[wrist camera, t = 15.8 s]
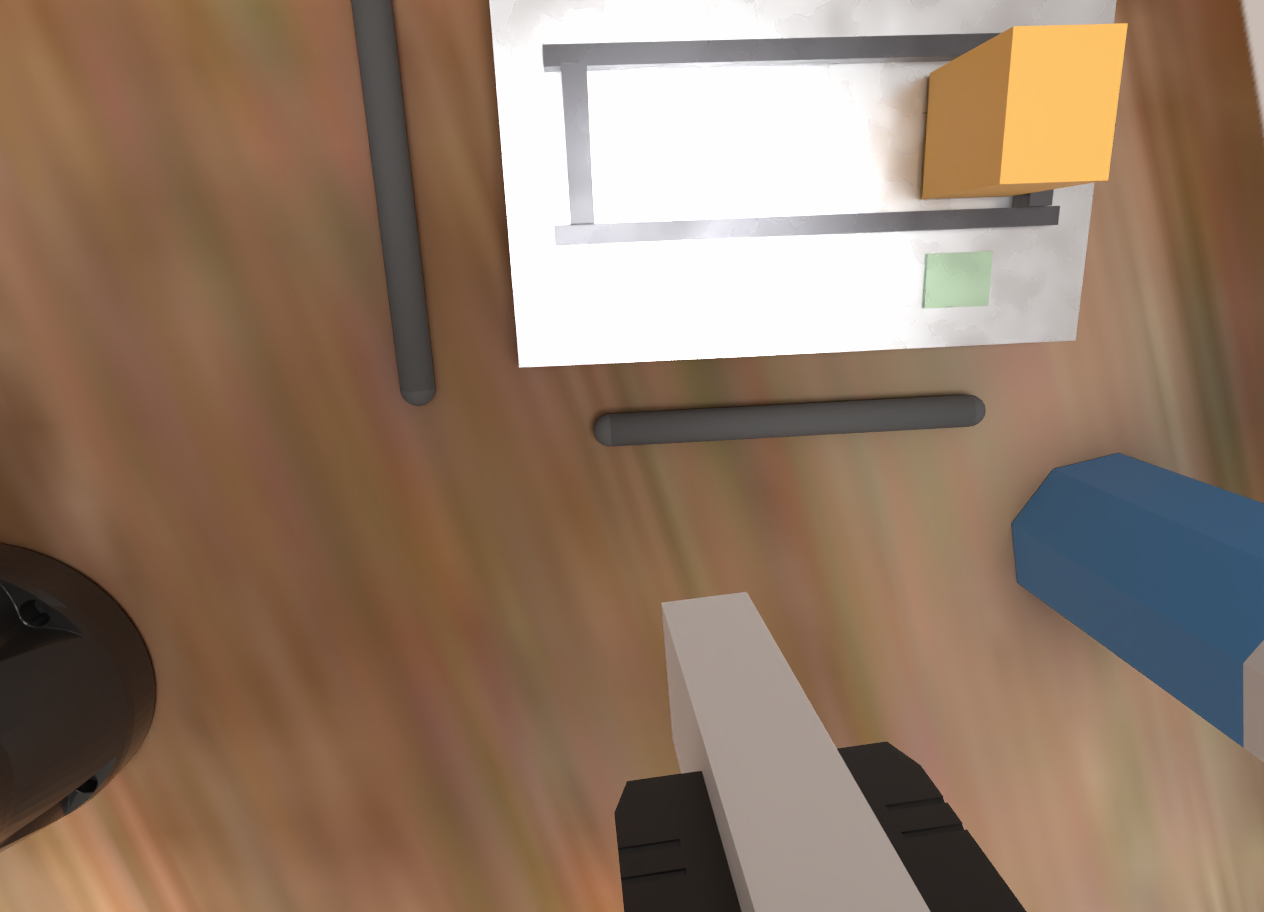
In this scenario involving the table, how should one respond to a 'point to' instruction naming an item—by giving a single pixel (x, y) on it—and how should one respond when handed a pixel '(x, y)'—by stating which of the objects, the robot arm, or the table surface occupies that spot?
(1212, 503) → the water bottle
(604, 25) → the panel
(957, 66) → the matte orange cube
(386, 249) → the rounded gray dowel
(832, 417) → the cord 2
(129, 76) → the table surface
